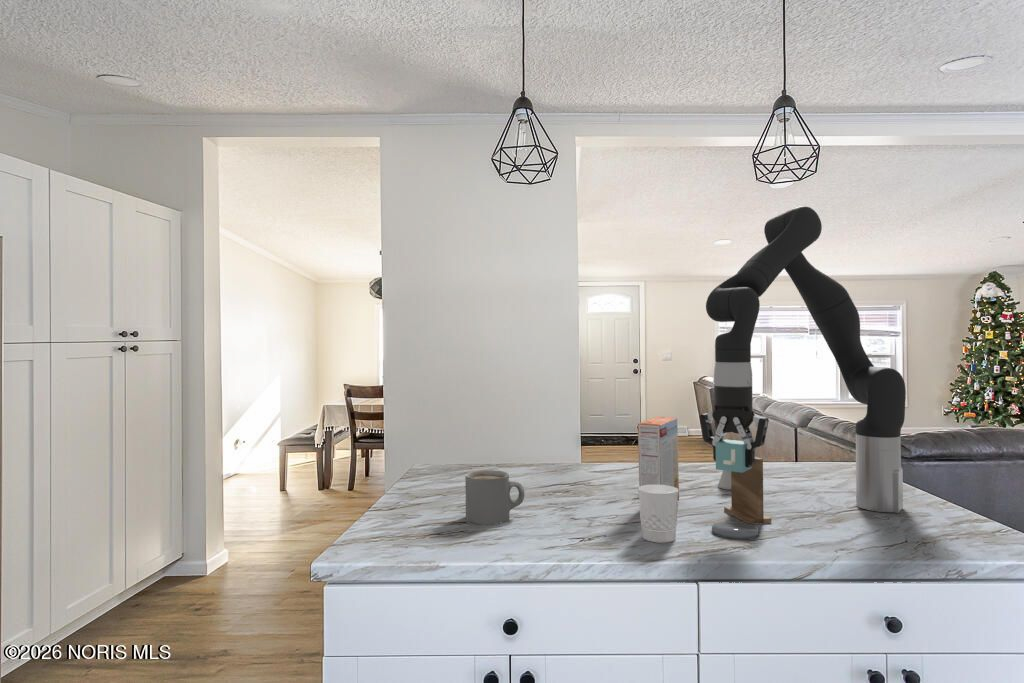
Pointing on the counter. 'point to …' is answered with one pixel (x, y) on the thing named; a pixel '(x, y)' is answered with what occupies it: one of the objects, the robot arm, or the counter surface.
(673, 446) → the cracker box
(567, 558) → the counter surface
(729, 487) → the flask
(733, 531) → the coaster
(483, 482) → the coffee mug
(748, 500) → the wooden stand
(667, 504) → the white cup
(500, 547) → the counter surface
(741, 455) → the letter cube
